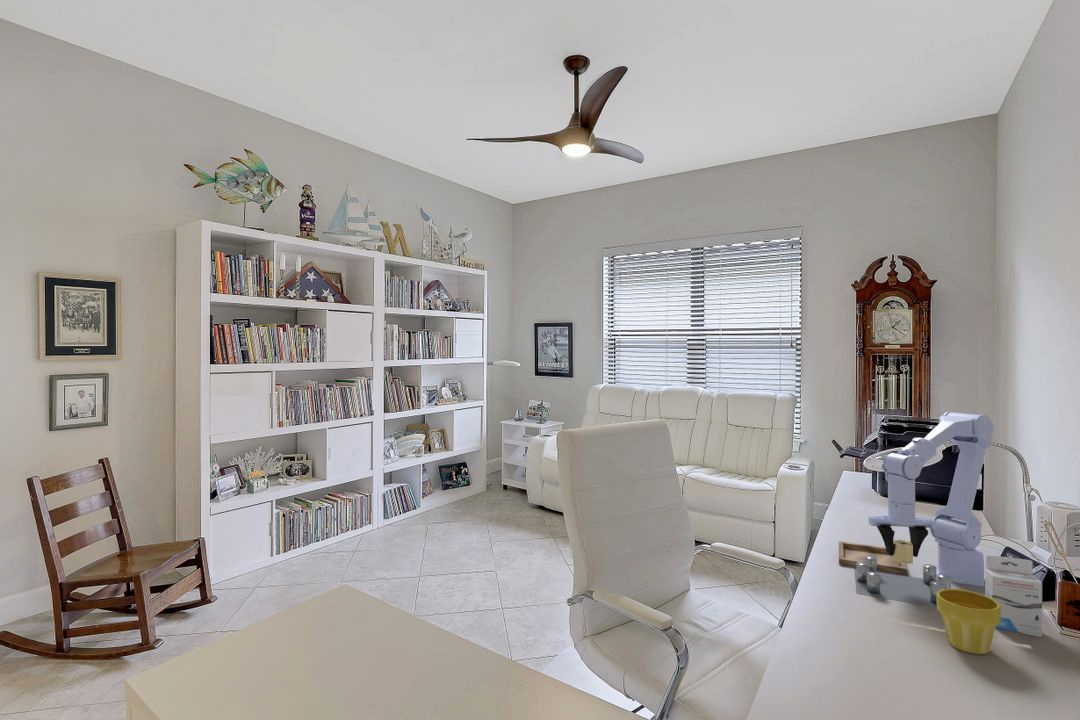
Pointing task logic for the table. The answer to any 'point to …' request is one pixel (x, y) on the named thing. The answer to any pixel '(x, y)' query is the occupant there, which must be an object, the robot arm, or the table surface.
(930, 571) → the spacers
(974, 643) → the plant pot
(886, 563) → the tray
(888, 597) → the mat
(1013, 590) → the ink box
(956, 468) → the robot arm
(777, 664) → the table surface
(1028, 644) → the table surface
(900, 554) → the nut
